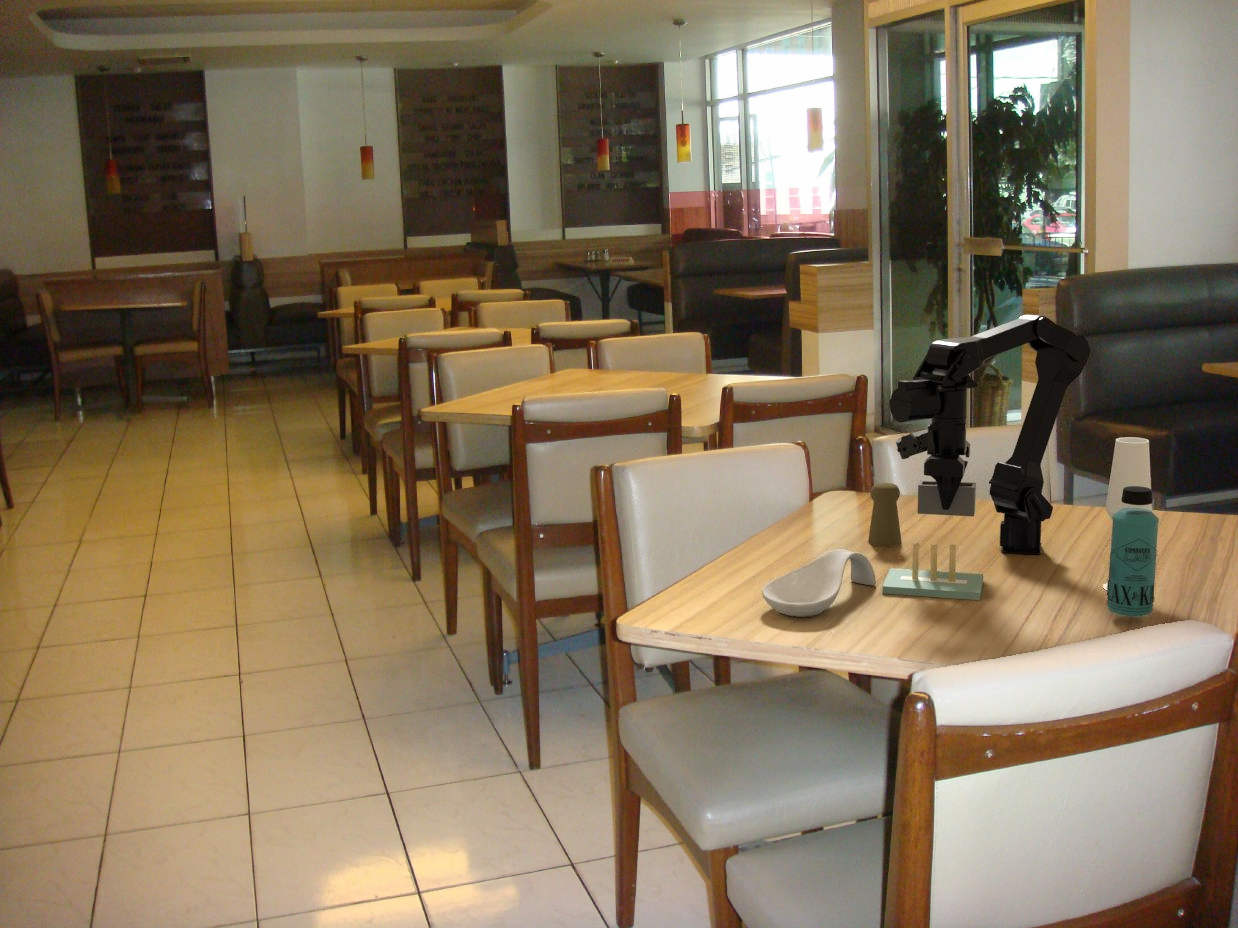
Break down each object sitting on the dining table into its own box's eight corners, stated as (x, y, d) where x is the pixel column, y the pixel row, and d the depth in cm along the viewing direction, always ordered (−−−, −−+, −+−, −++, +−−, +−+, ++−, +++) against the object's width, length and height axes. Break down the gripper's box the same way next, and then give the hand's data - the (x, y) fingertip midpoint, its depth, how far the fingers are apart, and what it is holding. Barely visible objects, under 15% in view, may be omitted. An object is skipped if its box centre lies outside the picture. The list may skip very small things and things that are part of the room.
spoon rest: (810, 630, 179) (809, 584, 178) (747, 614, 187) (746, 570, 186) (894, 590, 196) (894, 547, 195) (832, 577, 204) (832, 536, 203)
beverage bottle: (1097, 613, 181) (1103, 483, 177) (1140, 610, 182) (1147, 481, 177) (1118, 628, 175) (1125, 494, 171) (1163, 625, 175) (1171, 491, 171)
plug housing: (975, 511, 206) (975, 482, 205) (973, 516, 202) (974, 487, 201) (919, 508, 209) (920, 480, 208) (917, 513, 206) (918, 485, 205)
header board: (983, 580, 198) (984, 538, 197) (979, 600, 189) (980, 555, 187) (890, 574, 203) (890, 533, 202) (882, 593, 194) (882, 550, 192)
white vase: (1127, 597, 188) (1135, 446, 182) (1092, 586, 193) (1099, 439, 188) (1157, 589, 191) (1165, 440, 185) (1121, 579, 196) (1129, 434, 191)
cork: (902, 546, 219) (902, 487, 217) (868, 546, 220) (868, 487, 218) (901, 537, 225) (901, 480, 223) (868, 537, 226) (868, 479, 224)
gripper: (906, 406, 213) (904, 491, 217) (892, 424, 196) (891, 517, 200) (971, 407, 210) (969, 494, 213) (964, 426, 193) (961, 521, 196)
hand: (946, 506), depth 205 cm, fingers closed on plug housing, 4 cm apart
